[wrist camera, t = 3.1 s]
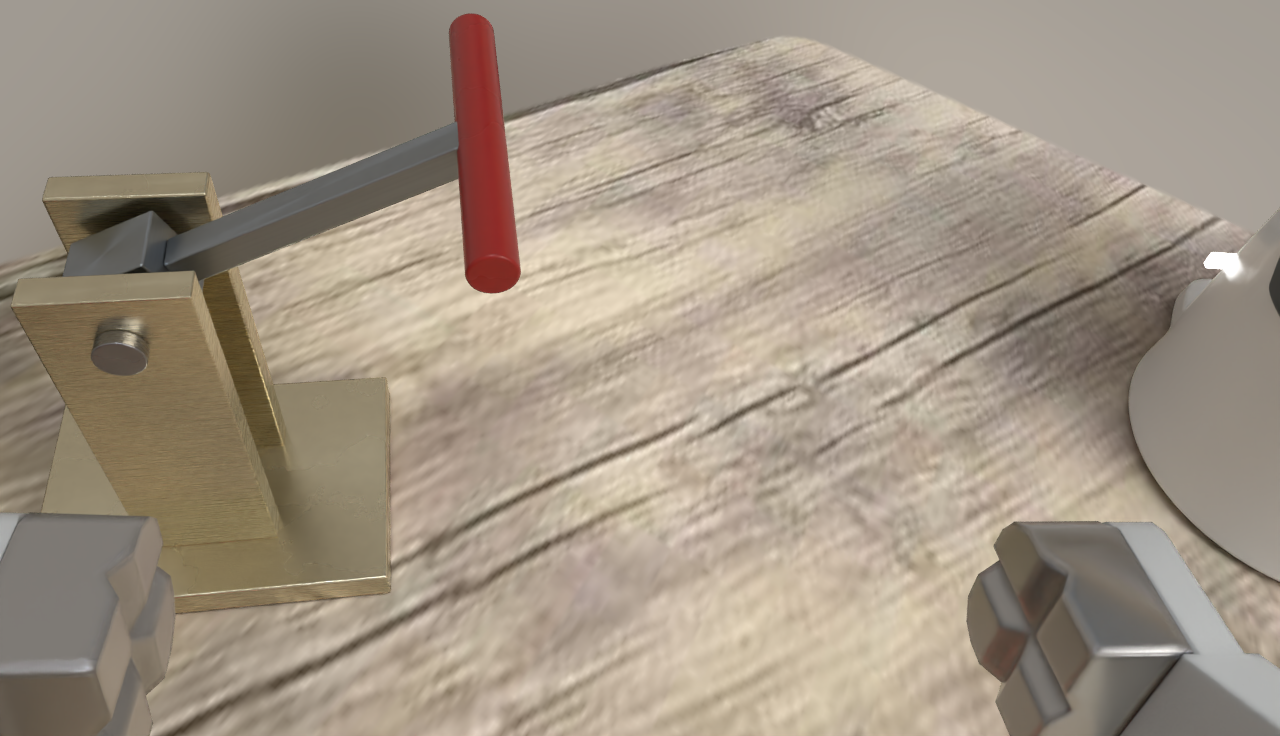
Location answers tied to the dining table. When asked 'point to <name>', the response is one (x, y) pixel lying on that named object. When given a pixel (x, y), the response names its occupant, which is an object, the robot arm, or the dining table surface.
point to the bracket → (204, 418)
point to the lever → (355, 193)
